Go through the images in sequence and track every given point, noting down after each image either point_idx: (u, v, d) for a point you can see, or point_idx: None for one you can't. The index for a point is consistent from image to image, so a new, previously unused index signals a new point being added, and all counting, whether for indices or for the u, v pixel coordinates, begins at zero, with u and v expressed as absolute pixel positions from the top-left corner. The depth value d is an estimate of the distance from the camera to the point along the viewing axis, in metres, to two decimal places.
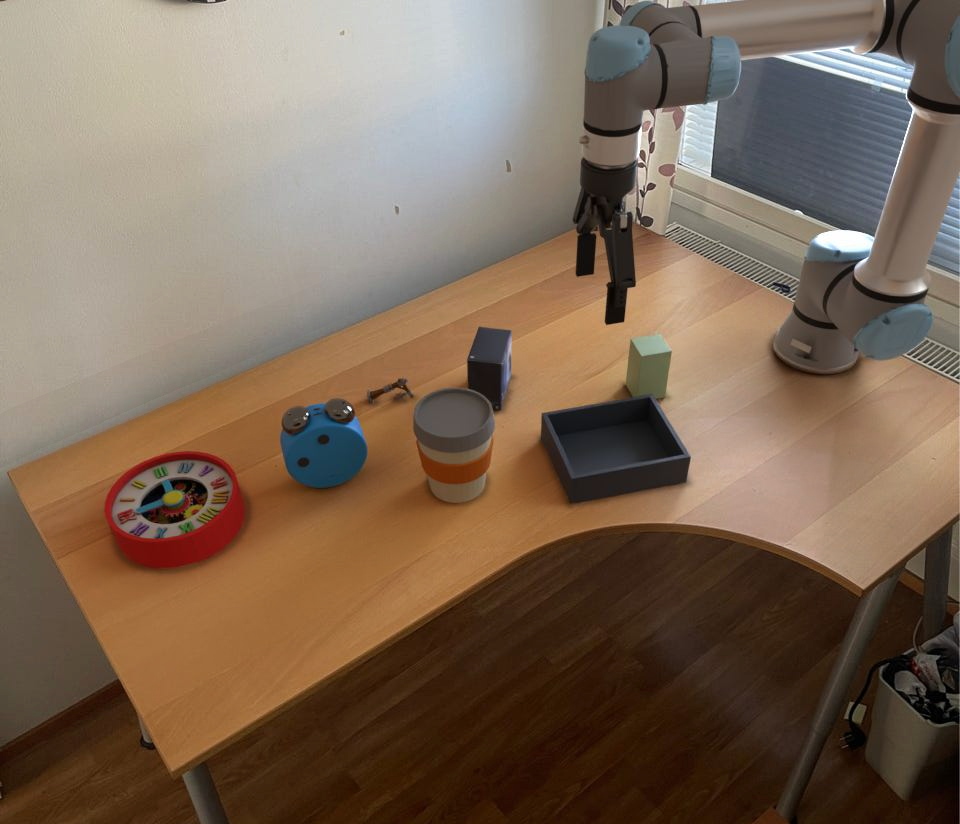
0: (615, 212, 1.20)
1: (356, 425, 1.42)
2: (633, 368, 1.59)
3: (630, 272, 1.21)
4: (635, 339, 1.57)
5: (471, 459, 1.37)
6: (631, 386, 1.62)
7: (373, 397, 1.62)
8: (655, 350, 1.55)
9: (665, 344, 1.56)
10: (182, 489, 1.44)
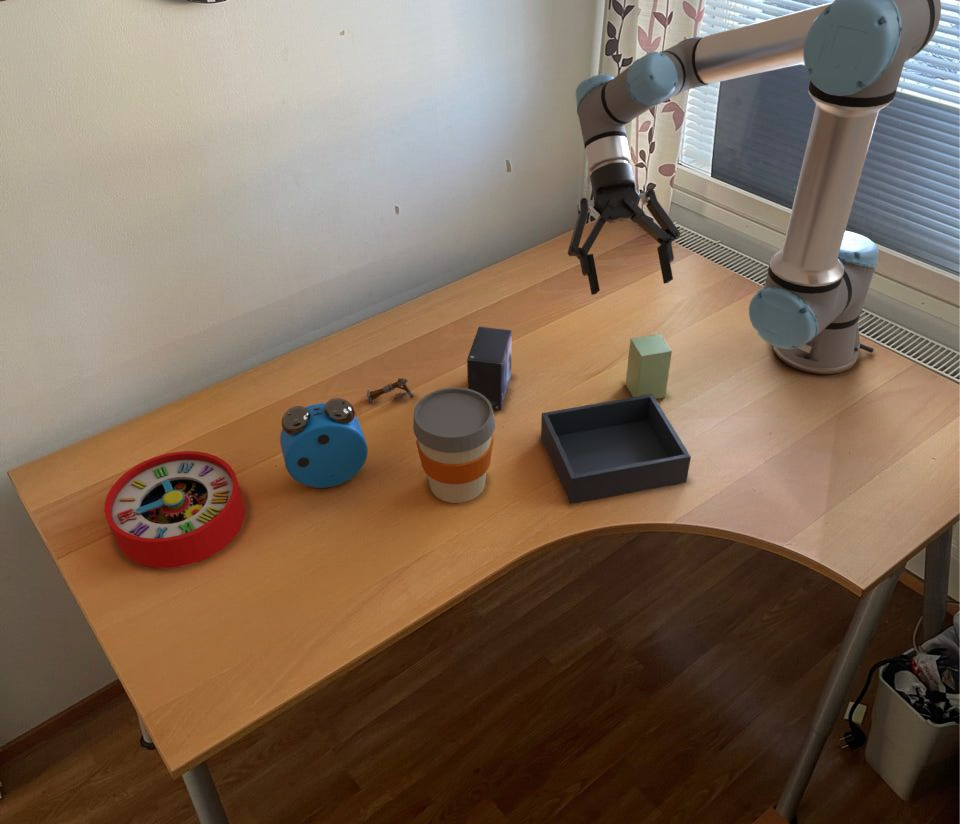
0: None
1: (356, 425, 1.42)
2: (633, 368, 1.59)
3: (572, 241, 1.58)
4: (635, 339, 1.57)
5: (471, 459, 1.37)
6: (631, 386, 1.62)
7: (373, 397, 1.62)
8: (655, 350, 1.55)
9: (665, 344, 1.56)
10: (182, 489, 1.44)
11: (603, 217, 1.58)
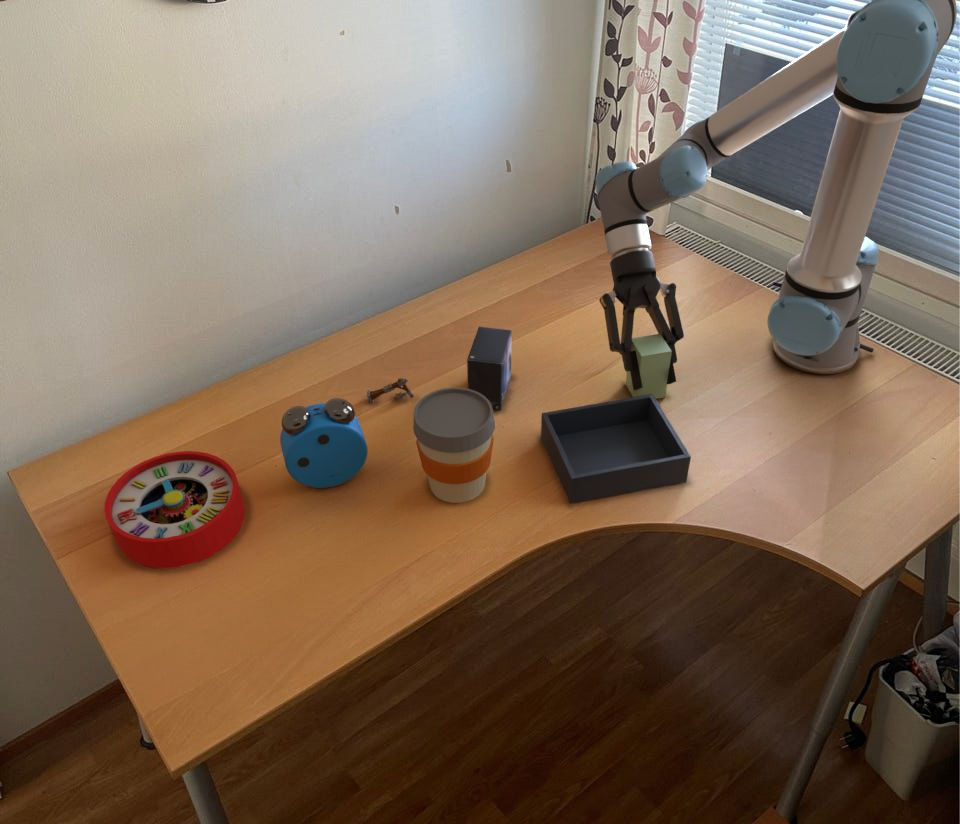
0: None
1: (356, 425, 1.42)
2: None
3: (611, 338, 1.56)
4: (635, 339, 1.57)
5: (471, 459, 1.37)
6: (631, 386, 1.62)
7: (373, 397, 1.62)
8: (655, 350, 1.55)
9: (665, 344, 1.56)
10: (182, 489, 1.44)
11: (631, 308, 1.56)
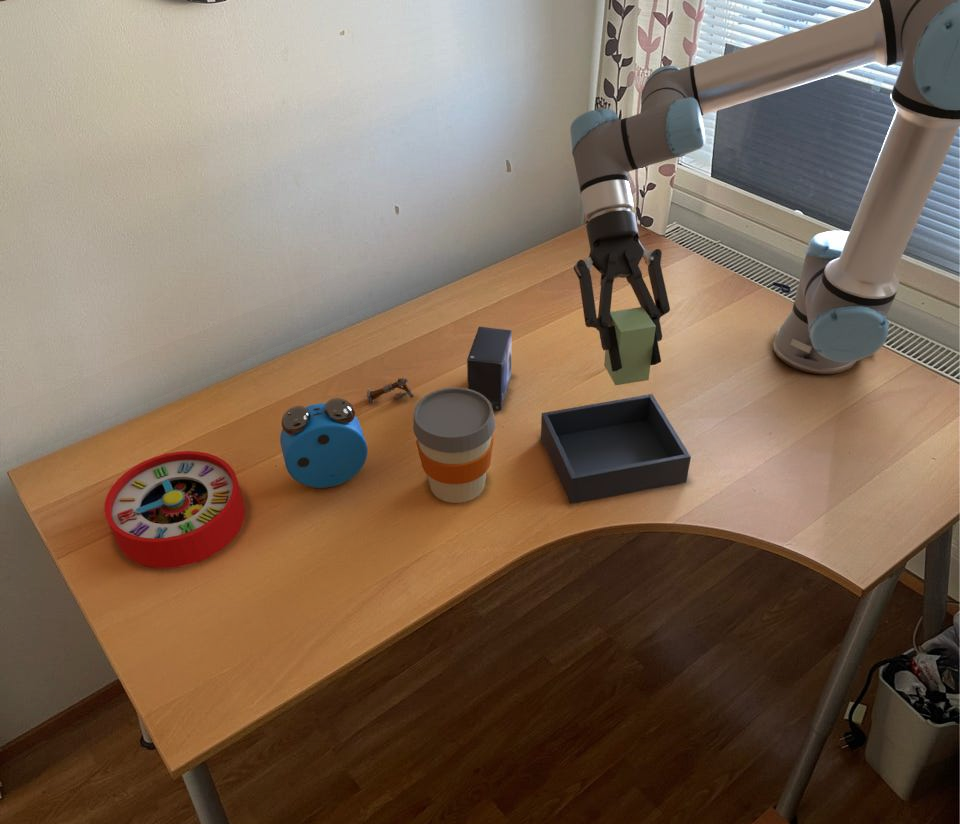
0: None
1: (356, 425, 1.42)
2: None
3: (586, 311, 1.36)
4: (614, 313, 1.37)
5: (471, 459, 1.37)
6: (609, 367, 1.42)
7: (373, 397, 1.62)
8: (636, 325, 1.35)
9: (648, 318, 1.36)
10: (182, 489, 1.44)
11: (609, 277, 1.36)
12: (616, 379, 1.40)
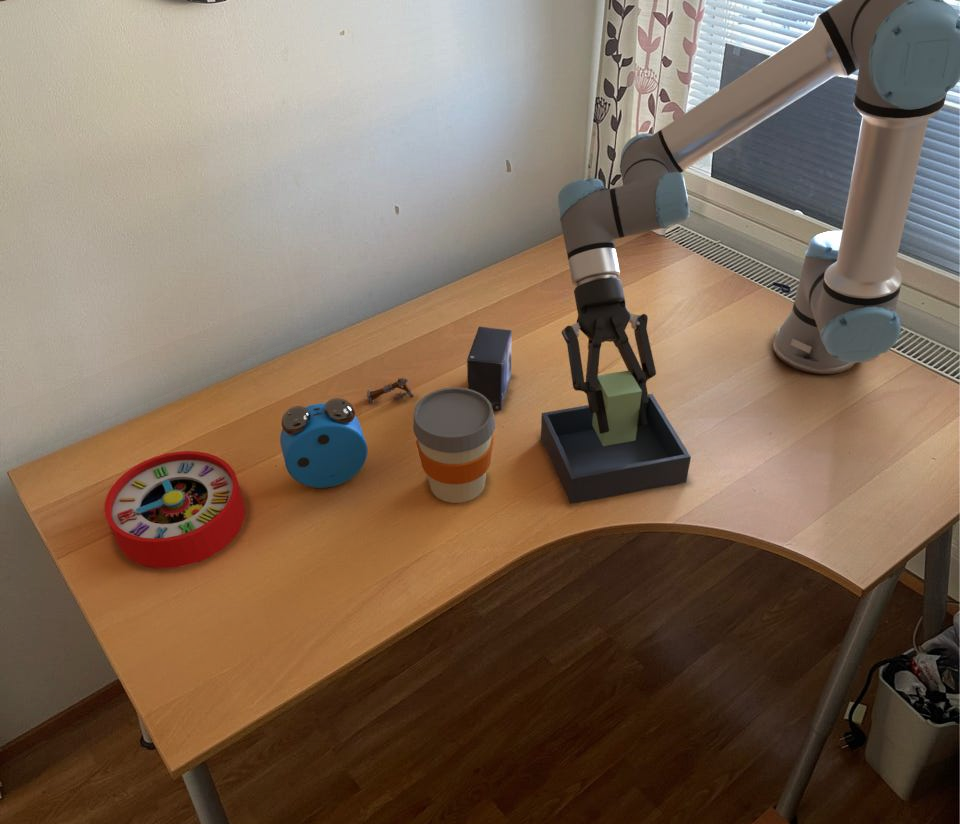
0: None
1: (356, 425, 1.42)
2: None
3: (574, 376, 1.39)
4: (601, 376, 1.40)
5: (471, 459, 1.37)
6: (597, 428, 1.45)
7: (373, 397, 1.62)
8: (623, 390, 1.38)
9: (635, 383, 1.39)
10: (182, 489, 1.44)
11: (596, 342, 1.39)
12: (604, 440, 1.43)
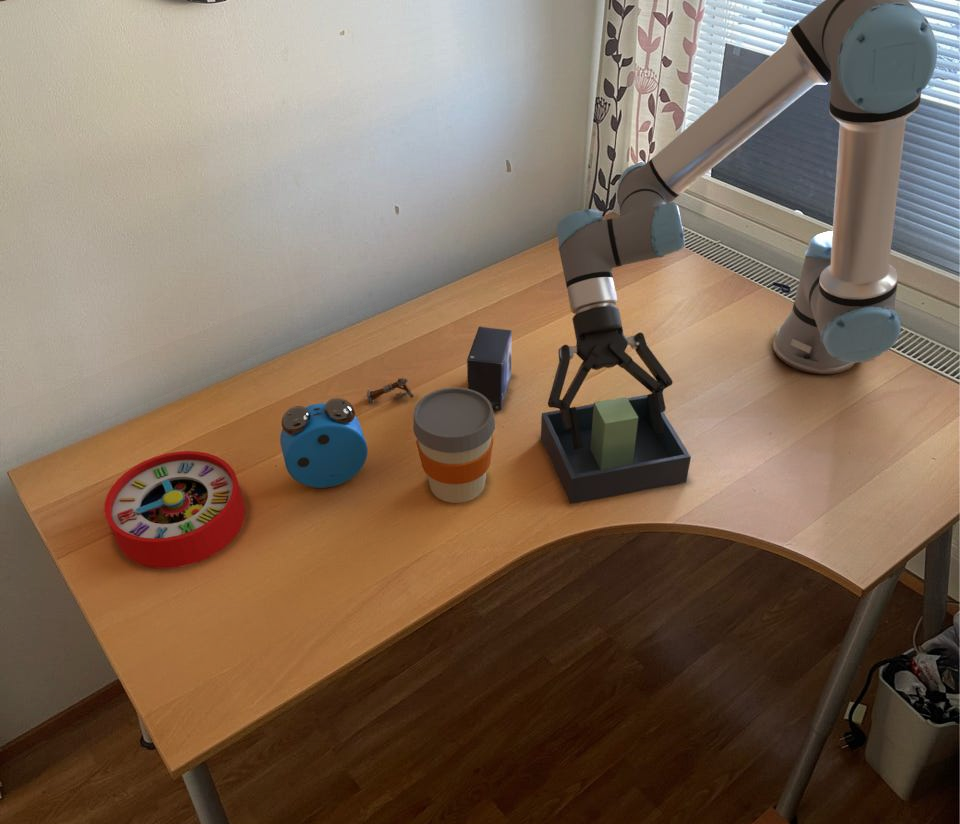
0: None
1: (356, 425, 1.42)
2: (597, 434, 1.45)
3: (552, 392, 1.42)
4: (599, 403, 1.44)
5: (471, 459, 1.37)
6: (595, 453, 1.49)
7: (373, 397, 1.62)
8: (620, 417, 1.42)
9: (631, 409, 1.43)
10: (182, 489, 1.44)
11: (587, 366, 1.42)
12: (601, 465, 1.47)
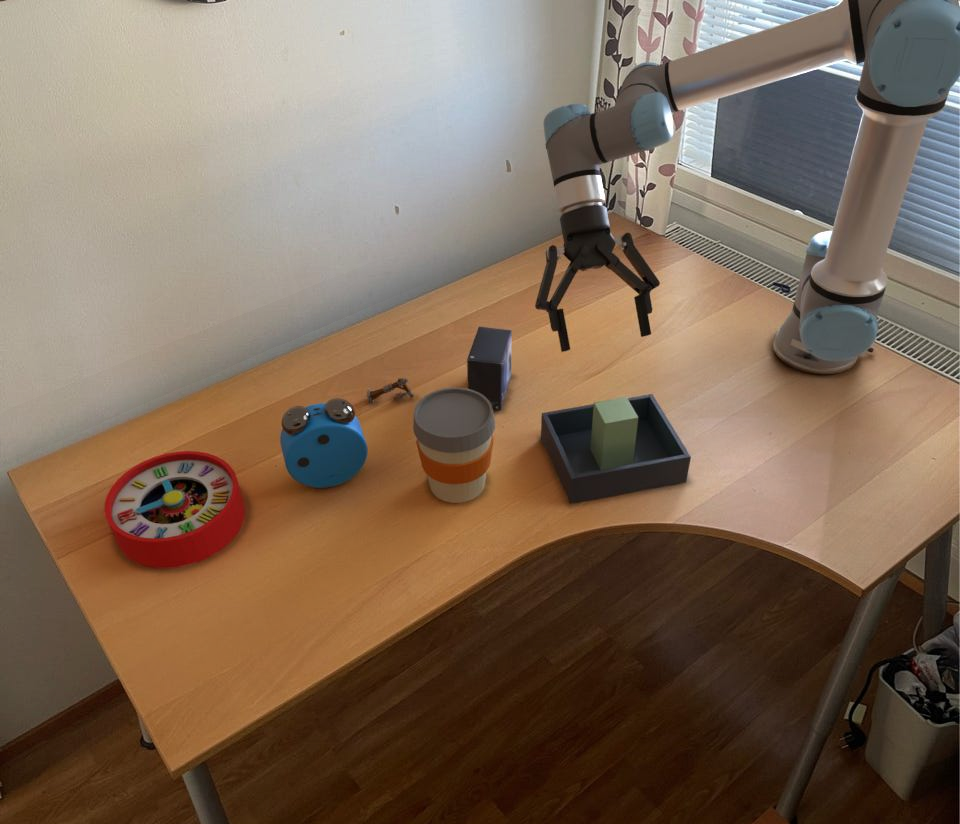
0: None
1: (356, 425, 1.42)
2: (597, 434, 1.45)
3: (540, 294, 1.42)
4: (599, 403, 1.44)
5: (471, 459, 1.37)
6: (595, 453, 1.49)
7: (373, 397, 1.62)
8: (620, 417, 1.42)
9: (631, 409, 1.43)
10: (182, 489, 1.44)
11: (574, 267, 1.42)
12: (601, 465, 1.47)
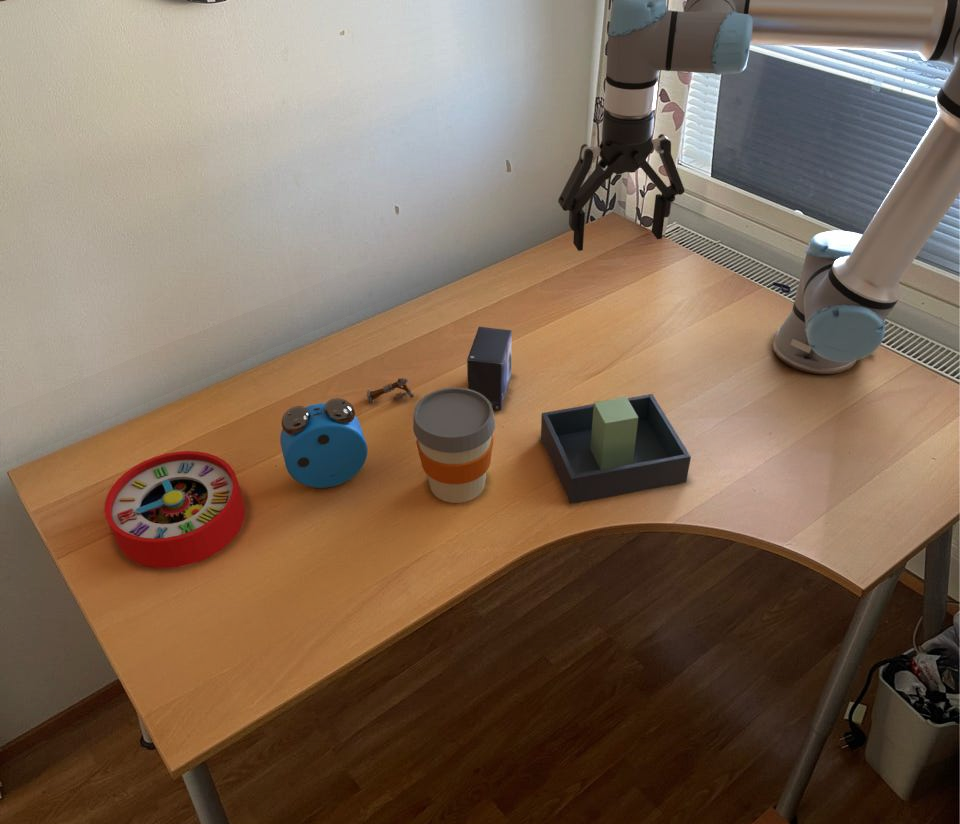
0: None
1: (356, 425, 1.42)
2: (597, 434, 1.45)
3: (566, 195, 1.40)
4: (599, 403, 1.44)
5: (471, 459, 1.37)
6: (595, 453, 1.49)
7: (373, 397, 1.62)
8: (620, 417, 1.42)
9: (631, 409, 1.43)
10: (182, 489, 1.44)
11: (606, 175, 1.38)
12: (601, 465, 1.47)
